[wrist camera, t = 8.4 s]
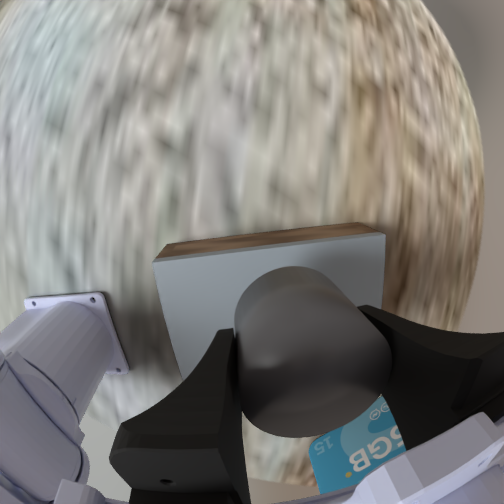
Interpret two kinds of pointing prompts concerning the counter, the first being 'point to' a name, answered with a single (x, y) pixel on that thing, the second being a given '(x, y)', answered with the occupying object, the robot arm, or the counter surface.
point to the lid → (247, 271)
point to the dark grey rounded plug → (305, 354)
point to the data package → (355, 448)
